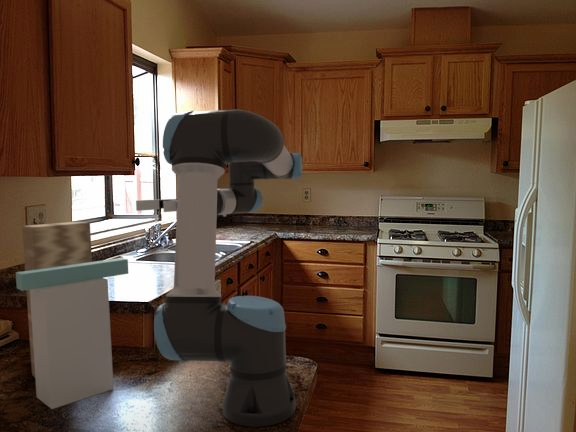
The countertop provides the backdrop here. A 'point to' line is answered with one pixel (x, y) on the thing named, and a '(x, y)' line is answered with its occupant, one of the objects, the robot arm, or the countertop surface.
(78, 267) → the teal block
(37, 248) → the oak block
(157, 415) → the countertop surface
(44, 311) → the step block
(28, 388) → the countertop surface
